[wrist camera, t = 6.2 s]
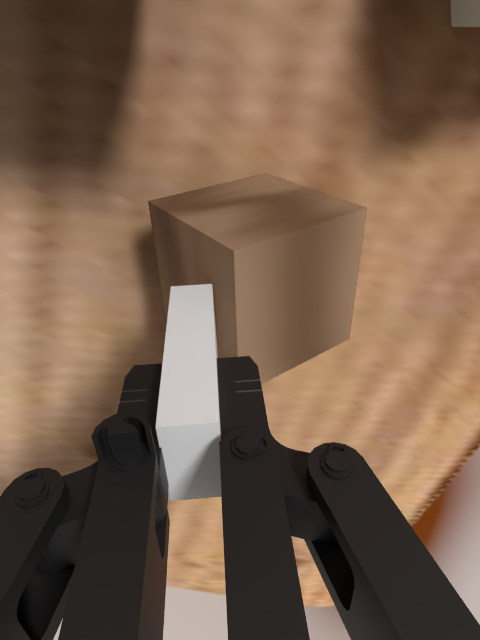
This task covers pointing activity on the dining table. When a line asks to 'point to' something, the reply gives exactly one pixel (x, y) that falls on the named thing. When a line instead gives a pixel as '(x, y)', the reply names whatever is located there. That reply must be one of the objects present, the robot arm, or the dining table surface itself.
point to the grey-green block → (465, 13)
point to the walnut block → (264, 265)
